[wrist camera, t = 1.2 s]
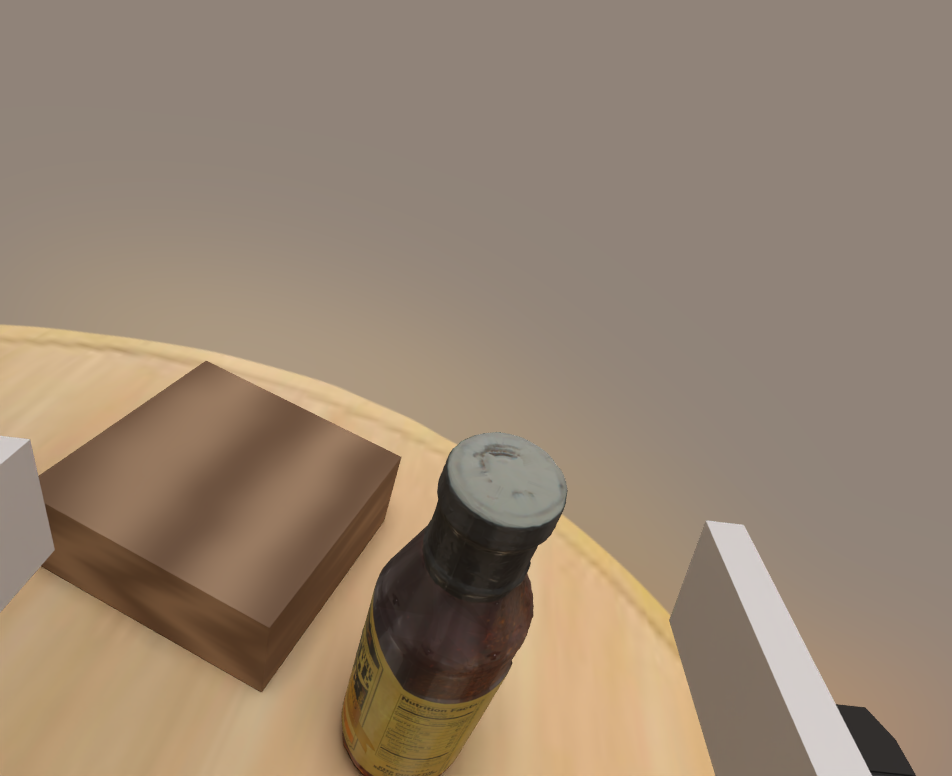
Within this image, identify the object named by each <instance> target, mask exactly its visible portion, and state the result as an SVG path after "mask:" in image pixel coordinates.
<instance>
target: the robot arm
mask: <svg viewBox="0 0 952 776" xmlns="http://www.w3.org/2000/svg"><path fill="white" fill-rule="evenodd" d="M54 550H55V548H54V544H53V539H52V535H51V531H50V526H49V522H48V517H47V513H46V508H45V504H44V499H43V495H42V490H41V486H40V481H39V477H38V472H37V468H36V464H35V459H34V455H33V450H32V446H31V441H30V439H23V438H14V437H6V436H0V612H1V611H2V610H3V609H4V608H5V606H6V605H7V604H8V603H9V602H10V601H11V600H12V598H13V597H14V596H15V595H16V594H17V593H18V592H19V590H20V589H21V588H22V587H23V586H24V585H25V584H26V582H27V581H28V580H29V579H30V578H31V577H32V576H33V574H34V573H35V572H36V571H37V570H38V569H39V567H40V566H41V565H42V564H43V563H44V562H45V561H46V559H47V558H48V557H49V556H50V555H51V554H52V553H53V551H54ZM669 621H670V625H671V628H672V631H673V635H674V638H675V641H676V645H677V648H678V651H679V655H680V658H681V662H682V665H683V668H684V672H685V675H686V678H687V682H688V685H689V688H690V692H691V695H692V698H693V702H694V705H695V709H696V712H697V715H698V719H699V722H700V725H701V729H702V732H703V735H704V739H705V742H706V745H707V749H708V752H709V756H710V759H711V762H712V766H713V769H714V772H715V776H916V775H915V773H914V771H913V769H912V768H911V766H910V764H909V762H908V761H907V759H906V757H905V755H904V754H903V752H902V750H901V748H900V747H899V745H898V743H897V741H896V740H895V739H894V738H893V736H892V735H891V734H890V733H889V732H888V731H887V730H886V729H885V728H884V727H883V726H882V725H881V724H880V723H879V722H878V721H877V719H875V717H874V716H873V715H872V714H871V713H870V712H869V711H868V710H867V709H866V708H865V707H855V706H846V705H838V704H835V703H834V701H833V698H832V697H831V695H830V693H829V691H828V689H827V687H826V685H825V683H824V681H823V679H822V677H821V675H820V673H819V671H818V670H817V667H816V665H815V663H814V662H813V659H812V657H811V655H810V653H809V652H808V650H807V648H806V646H805V644H804V642H803V640H802V638H801V636H800V634H799V632H798V630H797V628H796V626H795V624H794V622H793V620H792V619H791V616H790V614H789V613H788V610H787V609H786V606H785V605H784V603H783V601H782V599H781V597H780V595H779V593H778V591H777V589H776V587H775V585H774V583H773V581H772V579H771V577H770V575H769V573H768V571H767V569H766V567H765V565H764V563H763V562H762V560H761V558H760V556H759V554H758V552H757V550H756V548H755V546H754V544H753V542H752V540H751V538H750V536H749V534H748V532H747V530H746V528H745V526H744V525H740V524H731V523H723V522H715V521H705V524H704V527H703V530H702V532H701V535H700V538H699V541H698V543H697V546H696V549H695V551H694V554H693V557H692V560H691V562H690V565H689V568H688V570H687V573H686V576H685V579H684V581H683V584H682V587H681V590H680V592H679V595H678V598H677V600H676V603H675V606H674V609H673V612H672V614H671V617H670V620H669Z"/></svg>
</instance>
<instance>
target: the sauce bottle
mask: <svg viewBox="0 0 952 776" xmlns="http://www.w3.org/2000/svg"><path fill="white" fill-rule="evenodd" d="M437 493H438V502H437V506H436V509H435V512H434V514H433V517H432V520H431V521H430V523H429V524H428V526H426V527H425V528H424V529H423V530H422V531H421V532H420V533H419V534H418V535H417V536H416V537H414V538H413V539H412V540H411V541H410V542H409V543H408V544H407V545H406V546H405V547H404V548H403V549H401V550H400V551H399V552H398V553H397V554H396V555H395V556H394V557H393V558H391V560H390V561H389V562H388V563H387V564H386V565H385V567H384V568H383V570H382V571H381V573H380V575H379V577H378V580H377V582H376V586H375V589H374V593H373V596H372V600H371V604H370V608H369V611H368V615H367V618H366V622H365V625H364V628H363V631H362V636H361V640H360V644H359V647H358V650H357V654H356V658H355V662H354V665H353V669H352V673H351V676H350V680H349V684H348V687H347V691H346V695H345V698H344V703H343V708H342V727H343V743H344V746H345V748H346V749H347V751H348V753H349V755H350V757H351V759H352V761H353V762H354V764H355V766H356V767H357V768H358V769H359V770H360V771H361V772H362V774H363V775H364V776H439V775H440V774H441V773H442V772H444V771H445V770H446V769H447V768H448V767H449V766H450V765H451V764H452V763H453V762H454V760H455V759H456V757H457V756H458V754H459V753H460V751H461V749H462V748H463V746H464V744H465V743H466V741H467V739H468V738H469V736H470V735H471V733H472V731H473V730H474V728H475V727H476V725H477V723H478V722H479V720H480V718H481V717H482V715H483V713H484V712H485V710H486V708H487V707H488V705H489V703H490V702H491V700H492V698H493V697H494V695H495V693H496V692H497V690H498V688H499V687H500V685H501V684H502V682H503V680H504V679H505V677H506V675H507V674H508V672H509V670H510V668H511V665H512V659H513V657H514V656H515V654H516V652H517V651H518V650H519V649H520V647H521V645H522V644H523V642H524V640H525V637H526V636H527V633H528V629H529V627H530V623H531V620H532V618H533V607H534V606H533V593H532V590H531V582H530V579H529V577H528V574H527V572H528V570H529V567H530V564H531V562H530V560H531V558H532V556H533V554H534V553H535V551H536V549H537V547H538V545H540V544H541V543H543V542H544V541H545V540H547V538H548V537H549V536H550V535H551V534H552V532H553V530H554V528H555V527H556V524H557V522H558V520H559V518H560V516H561V514H562V512H563V510H564V507H565V504H566V496H567V485H566V481H565V478H564V475H563V473H562V471H561V470H560V468H559V467H558V466H557V465H556V464H555V462H554V460H553V459H552V458H551V457H550V456H549V455H548V454H547V453H546V452H545V451H544V450H543V449H541V448H540V447H538V446H537V445H535V444H533V443H531V442H530V441H528V440H526V439H524V438H521V437H518V436H514V435H510V434H505V433H501V432H495V433H484V434H480V435H475V436H473V437H470V438H467V439H465V440H463V441H461V442H460V443H459V444H458V445H457V446H456V447H455V448H453V449H452V451H451V452H450V454H449V456H448V458H447V461H446V464H445V466H444V468H443V471H442V473H441V476H440V478H439V482H438V491H437Z"/></svg>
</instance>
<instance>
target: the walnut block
mask: <svg viewBox="0 0 952 776" xmlns="http://www.w3.org/2000/svg"><path fill="white" fill-rule="evenodd" d="M400 460H401V457H400V456H398V455H396V454H394V453H392V452H390V451H388V450H386V449H384V448H382V447H380V446H378V445H376V444H374V443H372V442H370V441H368V440H366V439H364V438H362V437H360V436H358V435H356V434H354V433H352V432H349V431H347V430H345V429H343V428H341V427H339V426H337V425H335V424H333V423H331V422H329V421H327V420H325V419H323V418H321V417H319V416H317V415H315V414H313V413H311V412H309V411H307V410H305V409H303V408H301V407H299V406H297V405H295V404H293V403H291V402H289V401H287V400H285V399H283V398H281V397H279V396H277V395H275V394H273V393H271V392H268V391H266V390H264V389H262V388H260V387H258V386H256V385H254V384H252V383H250V382H248V381H246V380H244V379H242V378H240V377H238V376H236V375H234V374H232V373H230V372H228V371H226V370H224V369H222V368H220V367H218V366H216V365H214V364H212V363H210V362H208V361H205V362H204V363H202V364H201V365H199V366H198V367H196V368H195V369H193V370H192V371H190V372H189V373H188V374H186V375H185V376H183V377H182V378H180V379H179V380H177V381H176V382H174V383H173V384H172V385H170V386H169V387H167V388H166V389H164V390H163V391H161V392H160V393H159V394H157V395H156V396H154V397H153V398H151V399H150V400H148V401H147V402H145V403H144V404H143V405H141V406H140V407H138V408H137V409H135V410H134V411H132V412H131V413H129V414H128V415H127V416H125V417H124V418H122V419H121V420H119V421H118V422H116V423H115V424H113V425H112V426H111V427H109V428H108V429H106V430H105V431H103V432H102V433H100V434H99V435H97V436H96V437H95V438H93V439H92V440H90V441H89V442H87V443H86V444H84V445H83V446H82V447H80V448H79V449H77V450H76V451H74V452H73V453H71V454H70V455H68V456H67V457H66V458H64V459H63V460H61V461H60V462H58V463H57V464H55V465H54V466H52V467H51V468H50V469H48V470H47V471H45V472H44V473H42V474H41V475H39V476H38V477H39V481H40V486H41V490H42V495H43V499H44V504H45V508H46V513H47V517H48V522H49V526H50V531H51V535H52V539H53V544H54V548H55V550H54V551H53V553H52V554H51V555H50V556H49V557H48V558H47V559H46V561H45V562H44V563H43V564H42V565H41V566H42V567H44V568H46V569H47V570H49V571H51V572H53V573H54V574H56V575H58V576H59V577H61V578H63V579H65V580H66V581H68V582H70V583H72V584H73V585H75V586H77V587H79V588H80V589H82V590H84V591H86V592H87V593H89V594H91V595H93V596H94V597H96V598H98V599H100V600H101V601H103V602H105V603H107V604H108V605H110V606H112V607H114V608H115V609H117V610H119V611H121V612H122V613H124V614H126V615H128V616H129V617H131V618H133V619H135V620H136V621H138V622H140V623H142V624H143V625H145V626H147V627H148V628H150V629H152V630H154V631H155V632H157V633H159V634H161V635H162V636H164V637H166V638H168V639H169V640H171V641H173V642H175V643H176V644H178V645H180V646H182V647H183V648H185V649H187V650H189V651H190V652H192V653H194V654H196V655H197V656H199V657H201V658H203V659H204V660H206V661H208V662H210V663H211V664H213V665H215V666H217V667H218V668H220V669H222V670H224V671H225V672H227V673H229V674H230V675H232V676H234V677H236V678H237V679H239V680H241V681H243V682H244V683H246V684H248V685H250V686H251V687H253V688H255V689H257V690H258V691H260V692H262V691H263V689H264V688H265V687H266V685H267V684H268V682H269V681H270V680H271V678H272V677H273V675H274V674H275V673H276V671H277V670H278V668H279V667H280V666H281V664H282V663H283V661H284V660H285V659H286V657H287V656H288V654H289V653H290V652H291V650H292V649H293V647H294V646H295V645H296V643H297V642H298V640H299V639H300V638H301V636H302V635H303V633H304V632H305V631H306V629H307V628H308V626H309V625H310V624H311V622H312V621H313V619H314V618H315V617H316V615H317V614H318V612H319V611H320V610H321V608H322V607H323V605H324V604H325V603H326V601H327V600H328V598H329V597H330V596H331V594H332V593H333V591H334V590H335V589H336V587H337V586H338V584H339V583H340V582H341V580H342V579H343V577H344V576H345V575H346V573H347V572H348V570H349V569H350V568H351V566H352V565H353V563H354V562H355V561H356V559H357V558H358V556H359V555H360V554H361V552H362V551H363V549H364V548H365V547H366V545H367V544H368V542H369V541H370V540H371V538H372V537H373V535H374V534H375V533H376V531H377V530H378V528H379V527H380V526H381V524H382V523H383V521H384V519H385V516H386V512H387V508H388V504H389V501H390V497H391V493H392V490H393V486H394V482H395V479H396V475H397V471H398V467H399V464H400Z"/></svg>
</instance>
